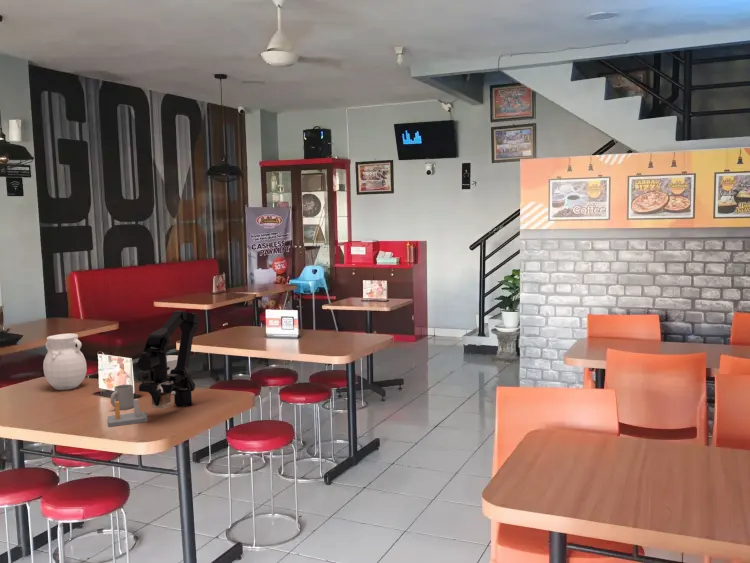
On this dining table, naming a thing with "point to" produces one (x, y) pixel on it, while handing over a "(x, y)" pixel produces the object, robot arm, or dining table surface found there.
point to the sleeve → (163, 401)
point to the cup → (123, 397)
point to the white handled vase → (64, 361)
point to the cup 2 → (171, 366)
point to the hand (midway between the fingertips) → (161, 404)
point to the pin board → (127, 416)
